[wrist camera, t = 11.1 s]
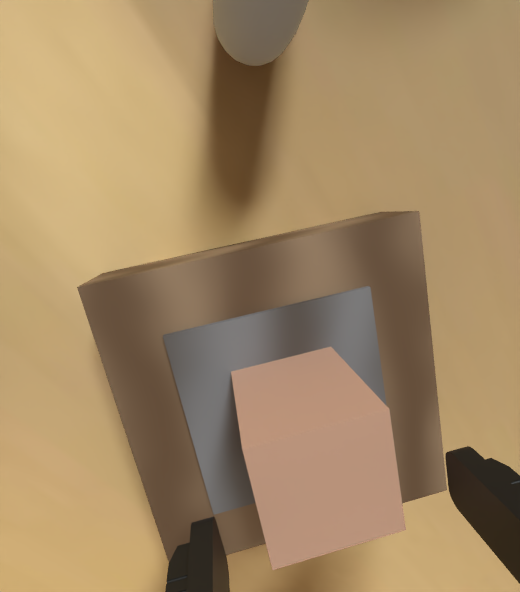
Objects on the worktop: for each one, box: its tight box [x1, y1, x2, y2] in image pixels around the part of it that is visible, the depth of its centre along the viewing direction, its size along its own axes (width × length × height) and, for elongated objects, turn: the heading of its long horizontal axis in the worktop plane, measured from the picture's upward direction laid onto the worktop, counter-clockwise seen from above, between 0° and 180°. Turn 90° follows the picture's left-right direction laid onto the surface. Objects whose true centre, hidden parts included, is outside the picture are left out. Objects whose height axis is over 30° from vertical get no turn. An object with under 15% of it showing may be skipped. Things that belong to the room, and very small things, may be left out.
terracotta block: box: [231, 347, 406, 570], centre depth 15 cm, size 5×5×6 cm
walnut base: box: [77, 211, 447, 562], centre depth 20 cm, size 16×16×4 cm
